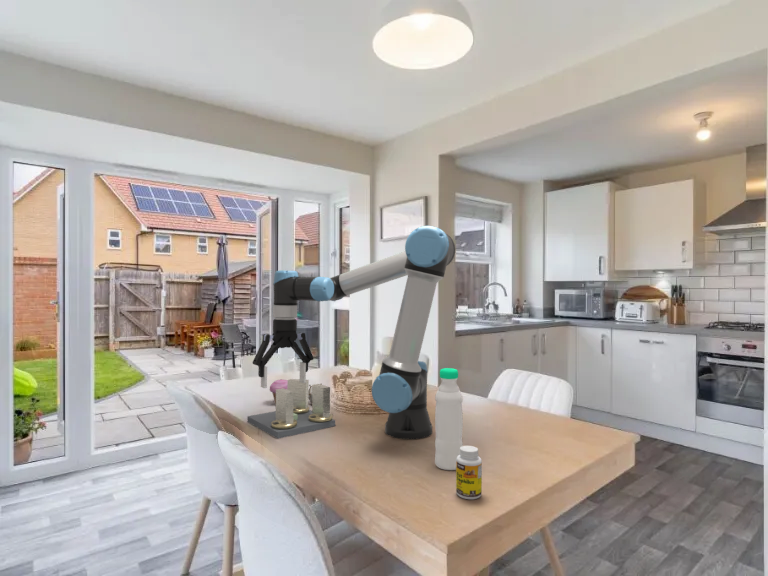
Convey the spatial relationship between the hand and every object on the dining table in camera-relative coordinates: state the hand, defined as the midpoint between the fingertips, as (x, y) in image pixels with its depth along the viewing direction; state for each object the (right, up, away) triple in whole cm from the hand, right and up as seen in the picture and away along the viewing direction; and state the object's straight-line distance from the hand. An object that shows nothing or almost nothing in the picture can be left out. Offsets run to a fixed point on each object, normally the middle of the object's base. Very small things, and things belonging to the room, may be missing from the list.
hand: (283, 384), depth 142 cm
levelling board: (0, -15, +9) cm, 18 cm away
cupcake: (-9, -16, +36) cm, 40 cm away
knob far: (+1, -13, +17) cm, 22 cm away
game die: (+5, -16, +36) cm, 40 cm away
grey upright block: (+11, -13, +7) cm, 18 cm away
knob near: (0, -13, 0) cm, 13 cm away
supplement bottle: (+51, -15, -44) cm, 69 cm away
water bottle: (+49, -15, -27) cm, 58 cm away
